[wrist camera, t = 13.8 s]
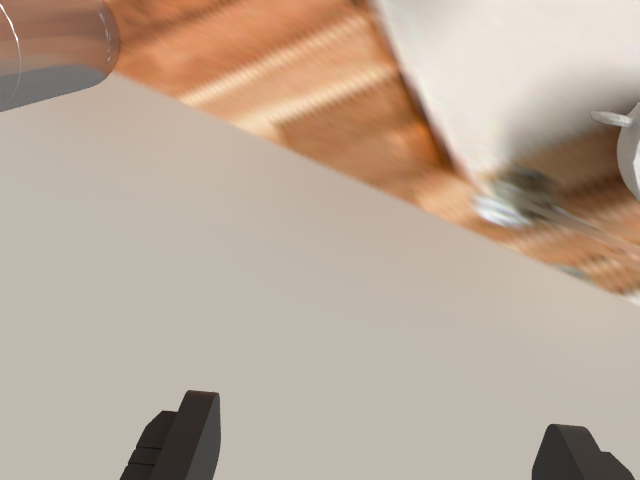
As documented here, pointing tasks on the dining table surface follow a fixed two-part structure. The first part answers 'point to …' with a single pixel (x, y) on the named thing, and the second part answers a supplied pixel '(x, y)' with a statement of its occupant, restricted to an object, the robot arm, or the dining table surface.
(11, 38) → the robot arm
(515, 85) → the dining table surface
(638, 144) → the teacup
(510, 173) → the dining table surface
